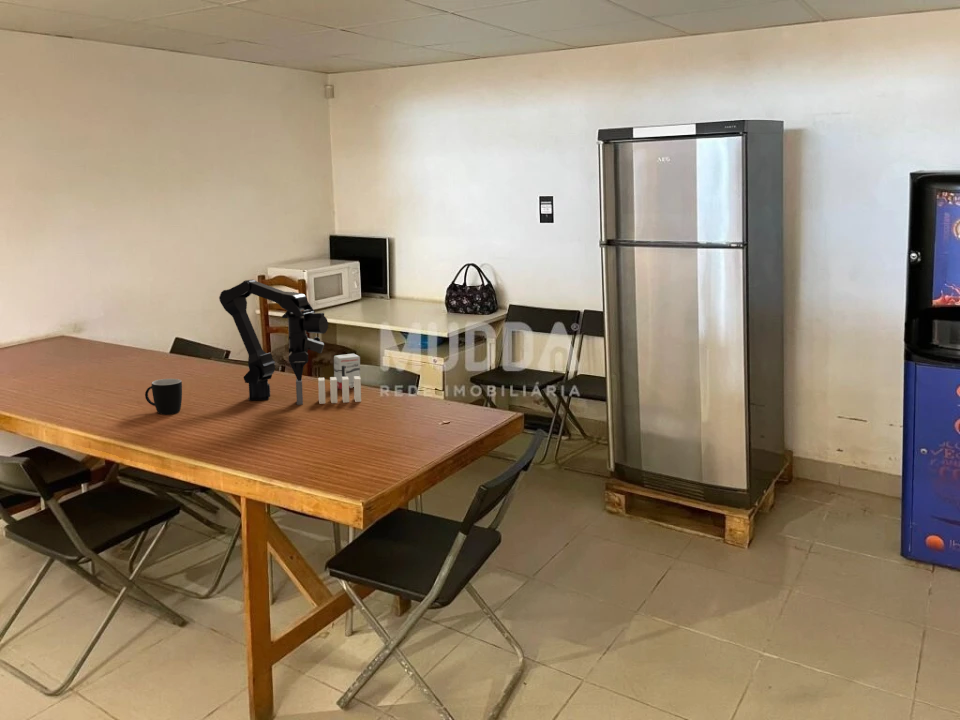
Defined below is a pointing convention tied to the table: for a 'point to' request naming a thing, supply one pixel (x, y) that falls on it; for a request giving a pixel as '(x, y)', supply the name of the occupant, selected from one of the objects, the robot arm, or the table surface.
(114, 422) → the table surface
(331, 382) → the domino
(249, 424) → the table surface
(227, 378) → the table surface
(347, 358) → the ink box
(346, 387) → the domino
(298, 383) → the domino
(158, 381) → the mug
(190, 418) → the table surface
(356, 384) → the domino
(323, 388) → the domino
